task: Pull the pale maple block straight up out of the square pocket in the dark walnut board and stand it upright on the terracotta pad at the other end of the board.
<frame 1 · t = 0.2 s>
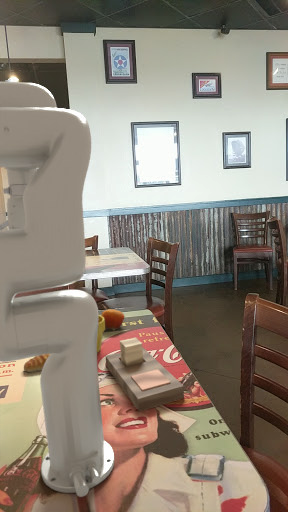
hand: (32, 256, 102), 31 cm above the table, tool pointing down, fingers open, 9 cm apart
pocket board: (141, 380, 94), on the table
plant pot: (89, 351, 114), on the table
maple block: (132, 370, 100), resting in pocket board
pastry: (44, 367, 106), on the table
fruit: (113, 328, 131), on the table
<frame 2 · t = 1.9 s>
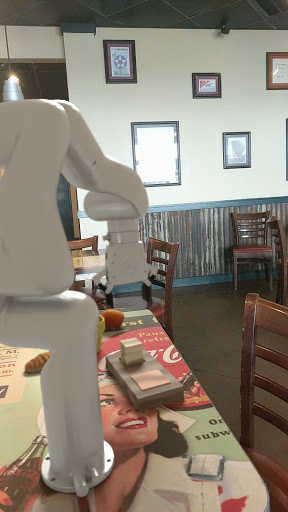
hand: (128, 303, 97), 18 cm above the table, tool pointing down, fingers open, 9 cm apart
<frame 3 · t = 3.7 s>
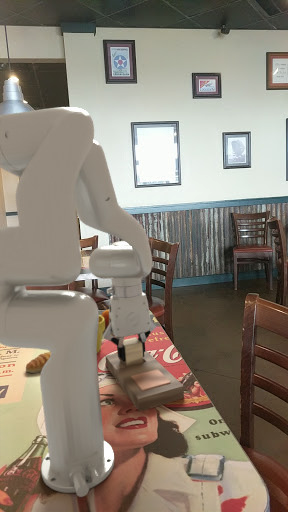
hand: (131, 356, 99), 4 cm above the table, tool pointing down, fingers closed on maple block, 4 cm apart
maple block: (132, 370, 100), resting in pocket board, touching gripper
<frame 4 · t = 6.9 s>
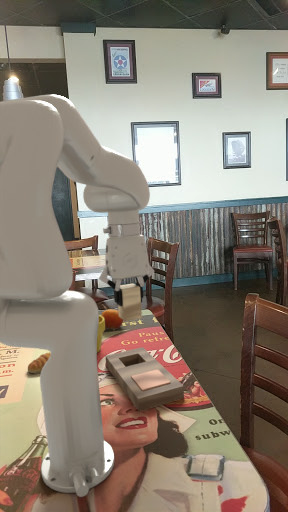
hand: (129, 302, 95), 19 cm above the table, tool pointing down, fingers closed on maple block, 4 cm apart
maple block: (130, 317, 96), point 15 cm above the table, touching gripper
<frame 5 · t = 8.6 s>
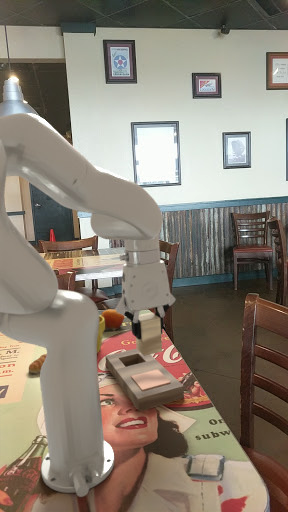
hand: (148, 334, 86), 14 cm above the table, tool pointing down, fingers closed on maple block, 4 cm apart
maple block: (149, 349, 87), point 10 cm above the table, touching gripper
when the fingers open (9 cm above the table, at t = 9.9 s): maple block drops 1 cm, resting on pocket board.
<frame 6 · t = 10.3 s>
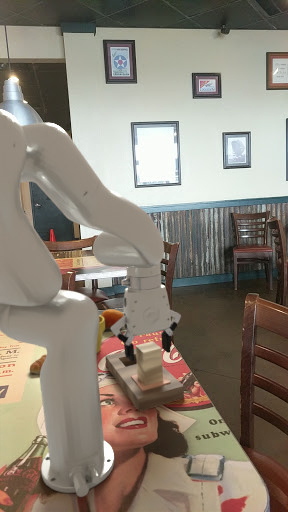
hand: (148, 354, 87), 9 cm above the table, tool pointing down, fingers open, 8 cm apart
maple block: (150, 379, 88), point 3 cm above the table, touching pocket board
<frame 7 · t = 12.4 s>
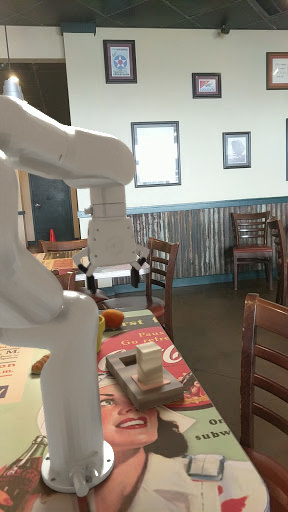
hand: (114, 289, 84), 25 cm above the table, tool pointing down, fingers open, 9 cm apart
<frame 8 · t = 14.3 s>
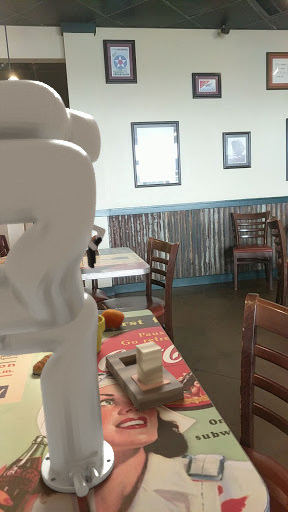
hand: (70, 270, 83), 30 cm above the table, tool pointing down, fingers open, 9 cm apart
at the end: maple block 0.1 cm from the target spot on the pocket board, point 3.3 cm above the pocket board's base; maple block tilted 0°; the gripper is holding nothing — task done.
